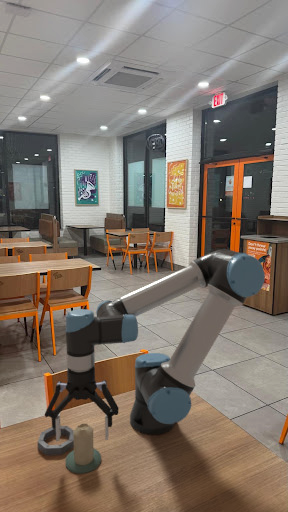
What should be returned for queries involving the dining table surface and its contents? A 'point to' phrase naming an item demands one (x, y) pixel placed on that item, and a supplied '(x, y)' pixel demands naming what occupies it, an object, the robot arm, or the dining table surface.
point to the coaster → (82, 468)
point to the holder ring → (56, 448)
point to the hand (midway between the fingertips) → (82, 437)
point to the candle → (83, 444)
